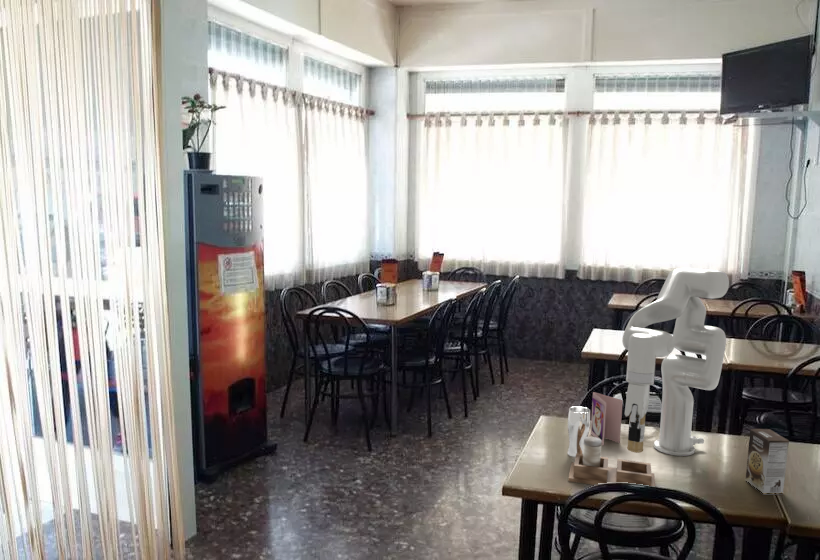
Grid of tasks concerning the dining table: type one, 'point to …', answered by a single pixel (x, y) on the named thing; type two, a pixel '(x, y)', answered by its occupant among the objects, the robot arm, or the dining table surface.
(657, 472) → the dining table surface
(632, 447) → the sprinkles bottle
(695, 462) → the dining table surface
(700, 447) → the dining table surface
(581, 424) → the silver metal can
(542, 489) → the dining table surface
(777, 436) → the coffee box
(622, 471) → the condiment rack
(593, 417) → the greeting card
